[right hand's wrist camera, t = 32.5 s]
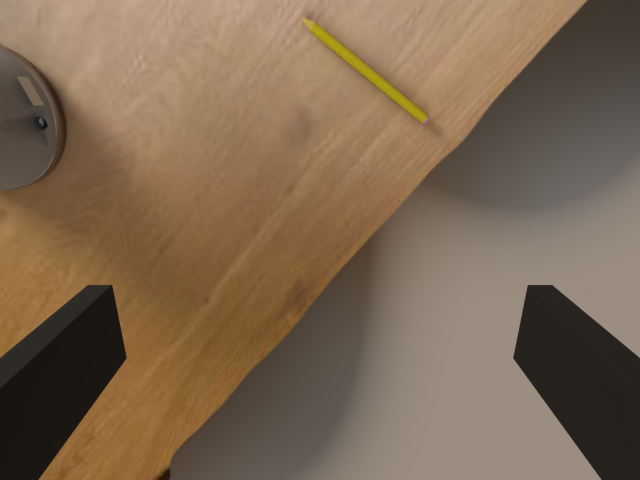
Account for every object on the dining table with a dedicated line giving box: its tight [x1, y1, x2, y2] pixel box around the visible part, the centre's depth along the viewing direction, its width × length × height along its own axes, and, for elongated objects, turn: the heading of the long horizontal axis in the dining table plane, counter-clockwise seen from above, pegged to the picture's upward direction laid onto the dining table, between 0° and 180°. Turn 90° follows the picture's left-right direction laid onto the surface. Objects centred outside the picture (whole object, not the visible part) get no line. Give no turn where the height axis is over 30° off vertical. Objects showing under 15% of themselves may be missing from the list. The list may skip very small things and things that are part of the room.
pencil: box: [301, 17, 429, 124], centre depth 41 cm, size 16×1×1 cm, turn 54°
